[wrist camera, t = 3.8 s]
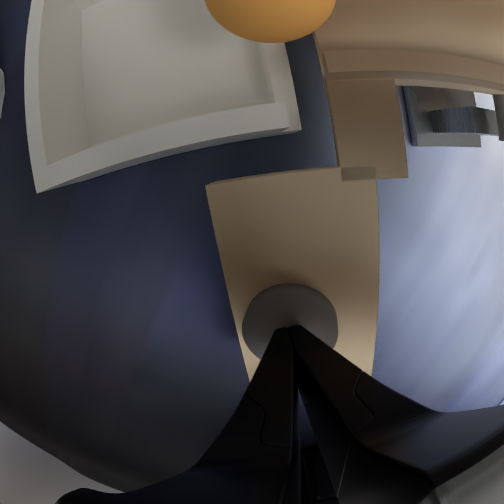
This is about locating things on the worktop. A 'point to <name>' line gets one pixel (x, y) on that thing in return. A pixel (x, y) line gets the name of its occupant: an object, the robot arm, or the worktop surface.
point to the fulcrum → (447, 117)
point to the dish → (143, 86)
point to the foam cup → (1, 90)
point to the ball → (270, 18)
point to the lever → (347, 172)
